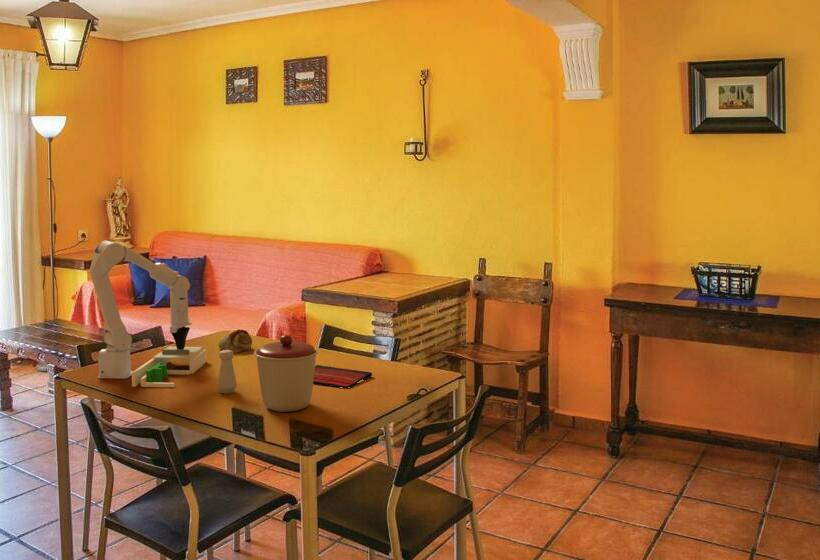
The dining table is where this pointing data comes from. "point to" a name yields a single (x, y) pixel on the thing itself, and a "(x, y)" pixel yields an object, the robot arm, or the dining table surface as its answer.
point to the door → (177, 353)
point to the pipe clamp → (156, 373)
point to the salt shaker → (226, 373)
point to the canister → (286, 374)
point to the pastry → (236, 341)
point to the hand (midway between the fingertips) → (180, 348)
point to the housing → (140, 373)
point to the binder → (338, 376)
